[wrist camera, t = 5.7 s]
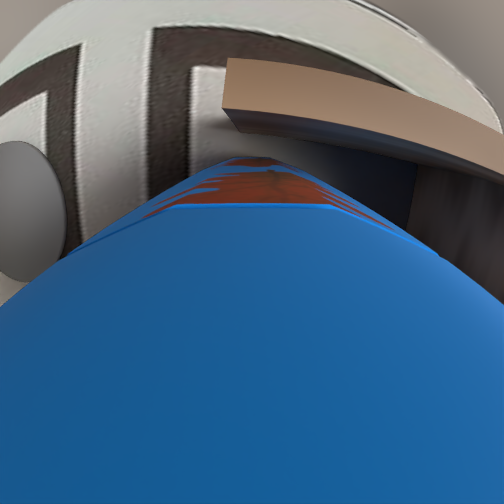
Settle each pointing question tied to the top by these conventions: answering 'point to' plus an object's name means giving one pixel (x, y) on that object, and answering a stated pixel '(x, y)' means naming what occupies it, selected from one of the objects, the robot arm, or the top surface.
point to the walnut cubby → (391, 151)
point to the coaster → (29, 212)
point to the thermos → (252, 357)
